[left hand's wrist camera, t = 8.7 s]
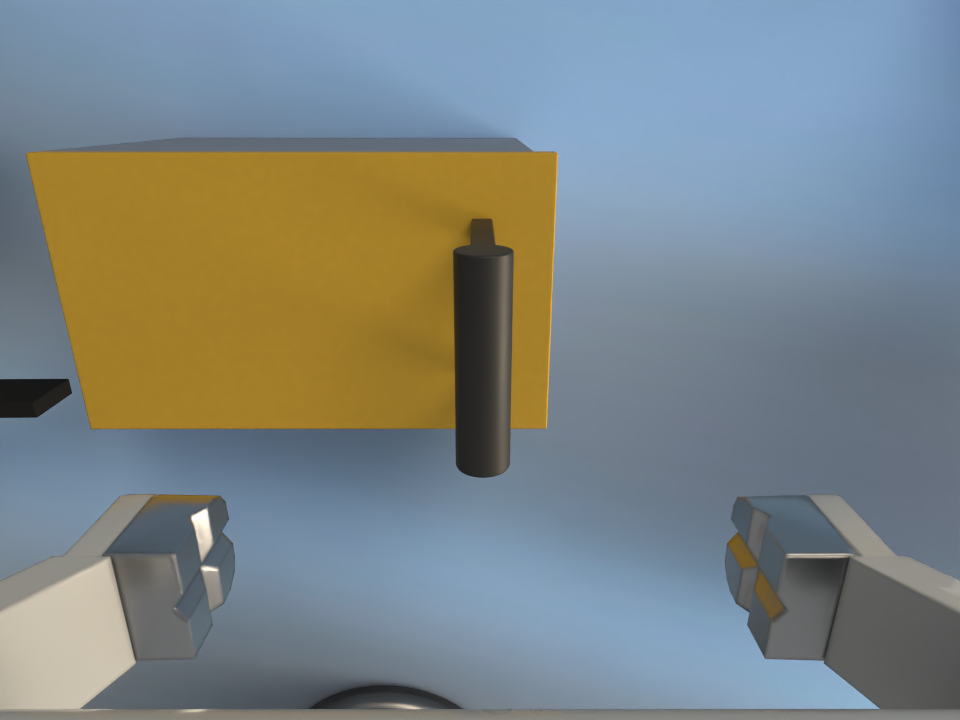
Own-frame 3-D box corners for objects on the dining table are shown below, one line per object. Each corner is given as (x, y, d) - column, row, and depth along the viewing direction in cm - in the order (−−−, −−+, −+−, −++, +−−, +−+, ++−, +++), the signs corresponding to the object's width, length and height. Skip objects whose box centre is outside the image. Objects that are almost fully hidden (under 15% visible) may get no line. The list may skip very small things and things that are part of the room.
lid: (555, 151, 22) (592, 171, 15) (545, 419, 26) (570, 538, 19) (40, 151, 22) (-168, 170, 15) (101, 419, 26) (-42, 539, 18)
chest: (517, 138, 32) (535, 151, 22) (513, 331, 36) (527, 419, 26) (179, 138, 32) (41, 151, 22) (209, 331, 36) (102, 419, 26)
